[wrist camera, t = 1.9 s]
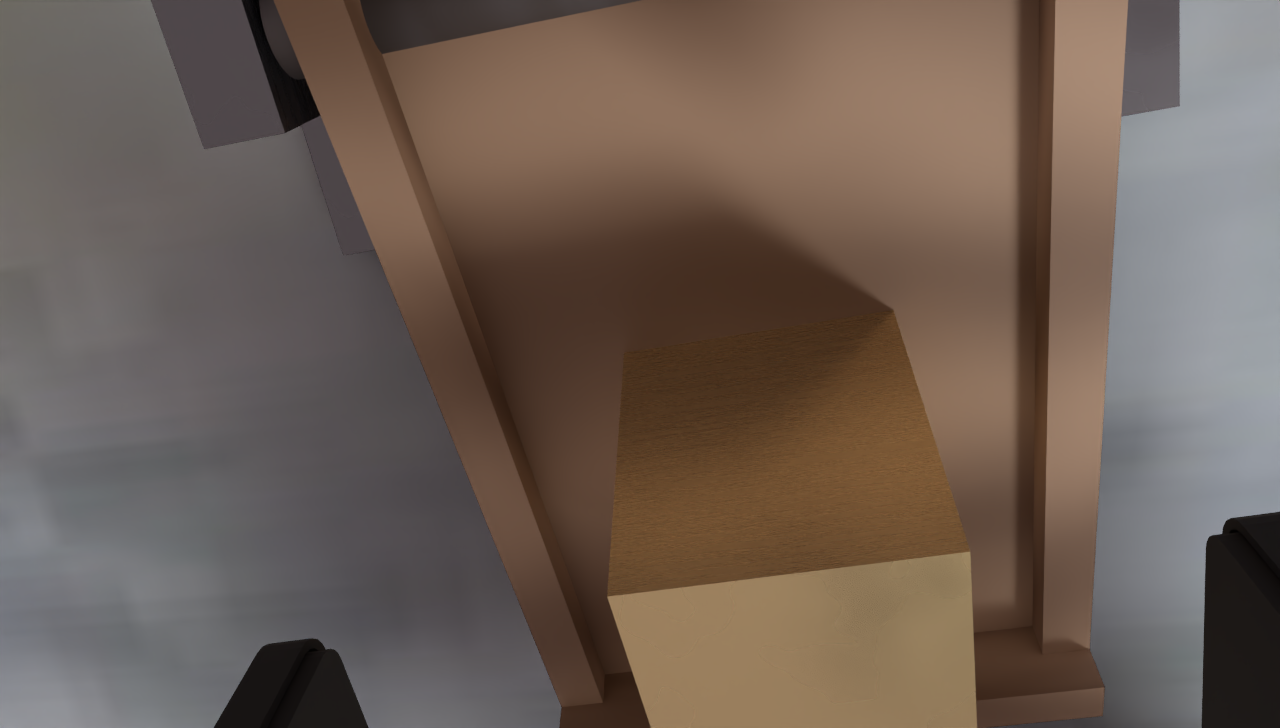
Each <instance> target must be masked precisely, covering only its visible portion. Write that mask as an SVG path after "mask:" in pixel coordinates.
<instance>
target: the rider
mask: <svg viewBox="0 0 1280 728" xmlns="http://www.w3.org/2000/svg"><path fill="white" fill-rule="evenodd" d="M607 598H608V601H609V604H610V607H611V610H612V613H613V616H614V619H615V622H616V625H617V628H618V631H619V634H620V637H621V640H622V643H623V646H624V649H625V652H626V655H627V658H628V661H629V664H630V667H631V670H632V673H633V676H634V678H635V681H636V684H637V687H638V690H639V693H640V696H641V699H642V702H643V705H644V708H645V711H646V714H647V717H648V720H649V723H650V726H651V728H977V712H976V686H975V660H974V634H973V608H972V582H971V556H970V549H969V546H968V543H967V540H966V536H965V533H964V530H963V527H962V524H961V521H960V518H959V514H958V511H957V508H956V505H955V502H954V499H953V496H952V492H951V489H950V486H949V483H948V480H947V477H946V474H945V470H944V467H943V464H942V461H941V458H940V455H939V452H938V448H937V445H936V442H935V439H934V436H933V433H932V430H931V426H930V423H929V420H928V417H927V414H926V411H925V408H924V404H923V401H922V398H921V395H920V392H919V389H918V386H917V382H916V379H915V376H914V373H913V370H912V367H911V364H910V360H909V357H908V354H907V351H906V348H905V345H904V342H903V338H902V335H901V332H900V329H899V326H898V323H897V320H896V316H895V313H894V310H891V311H885V312H879V313H872V314H866V315H860V316H853V317H847V318H841V319H834V320H828V321H822V322H815V323H809V324H803V325H796V326H790V327H784V328H778V329H771V330H765V331H759V332H752V333H746V334H740V335H733V336H727V337H721V338H714V339H708V340H702V341H695V342H689V343H683V344H676V345H670V346H664V347H657V348H651V349H645V350H638V351H632V352H626V353H624V360H623V374H622V389H621V403H620V418H619V433H618V447H617V462H616V476H615V491H614V505H613V520H612V534H611V549H610V563H609V578H608V593H607Z"/></svg>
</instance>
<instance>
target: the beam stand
mask: <svg viewBox="0 0 1280 728" xmlns="http://www.w3.org/2000/svg"><path fill="white" fill-rule="evenodd" d="M151 2H152V4H153V7H154V10H155V13H156V16H157V18H158V21H159V24H160V27H161V30H162V32H163V35H164V38H165V41H166V44H167V46H168V49H169V52H170V55H171V58H172V60H173V63H174V66H175V69H176V71H177V74H178V77H179V80H180V83H181V85H182V88H183V91H184V94H185V97H186V99H187V102H188V105H189V108H190V111H191V113H192V116H193V119H194V122H195V124H196V127H197V130H198V133H199V136H200V138H201V141H202V144H203V147H204V149H207V148H212V147H217V146H222V145H227V144H232V143H237V142H242V141H247V140H252V139H258V138H263V137H268V136H273V135H278V134H283V133H286V132H288V131H290V130H292V129H294V128H296V127H298V126H300V125H302V128H303V131H304V134H305V138H306V141H307V144H308V147H309V150H310V153H311V156H312V159H313V163H314V166H315V169H316V172H317V175H318V178H319V181H320V184H321V188H322V191H323V194H324V197H325V200H326V203H327V206H328V209H329V213H330V216H331V219H332V222H333V225H334V228H335V231H336V234H337V238H338V241H339V244H340V247H341V250H342V253H343V255H349V254H354V253H360V252H366V251H371V250H375V248H374V246H373V243H372V241H371V238H370V236H369V233H368V231H367V228H366V226H365V223H364V221H363V219H362V216H361V214H360V211H359V209H358V206H357V204H356V201H355V199H354V196H353V194H352V192H351V189H350V187H349V184H348V182H347V179H346V177H345V174H344V172H343V169H342V167H341V165H340V162H339V160H338V157H337V155H336V152H335V150H334V147H333V145H332V142H331V140H330V138H329V135H328V133H327V130H326V128H325V125H324V123H323V120H322V118H321V116H320V113H319V111H318V108H317V106H316V103H315V101H314V98H313V96H312V93H311V91H310V89H309V86H308V84H307V81H306V79H301V80H297V79H294V78H292V77H291V76H289V75H288V74H287V73H286V72H285V71H284V70H283V68H282V67H281V66H280V64H279V63H278V61H277V59H276V58H275V56H274V54H273V52H272V50H271V47H270V45H269V43H268V40H267V37H266V34H265V31H264V27H263V24H262V19H261V13H260V5H259V0H151ZM1177 106H1180V96H1179V0H1128V11H1127V28H1126V45H1125V62H1124V78H1123V95H1122V112H1121V116H1127V115H1132V114H1138V113H1143V112H1149V111H1155V110H1160V109H1166V108H1171V107H1177Z"/></svg>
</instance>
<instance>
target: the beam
mask: <svg viewBox="0 0 1280 728" xmlns="http://www.w3.org/2000/svg"><path fill="white" fill-rule="evenodd" d="M259 5H260V13H261V19H262V24H263V27H264V31H265V34H266V37H267V40H268V43H269V45H270V47H271V50H272V52H273V54H274V56H275V58H276V59H277V61H278V63H279V64H280V66H281V67H282V68H283V70H284V71H285V72H286V73H287V74H288V75H289V76H291V77H292V78H294V79H297V80H301V79H306V81H307V84H308V86H309V89H310V91H311V93H312V96H313V98H314V101H315V103H316V106H317V108H318V111H319V113H320V116H321V118H322V120H323V123H324V125H325V128H326V130H327V133H328V135H329V138H330V140H331V142H332V145H333V147H334V150H335V152H336V155H337V157H338V160H339V162H340V165H341V167H342V169H343V172H344V174H345V177H346V179H347V182H348V184H349V187H350V189H351V192H352V194H353V196H354V199H355V201H356V204H357V206H358V209H359V211H360V214H361V216H362V219H363V221H364V223H365V226H366V228H367V231H368V233H369V236H370V238H371V241H372V243H373V246H374V248H375V250H376V253H377V255H378V258H379V260H380V263H381V265H382V268H383V270H384V273H385V275H386V277H387V280H388V282H389V285H390V287H391V290H392V292H393V295H394V297H395V300H396V302H397V304H398V307H399V309H400V312H401V314H402V317H403V319H404V322H405V324H406V326H407V329H408V331H409V334H410V336H411V339H412V341H413V344H414V346H415V349H416V351H417V353H418V356H419V358H420V361H421V363H422V366H423V368H424V371H425V373H426V376H427V378H428V380H429V383H430V385H431V388H432V390H433V393H434V395H435V398H436V400H437V403H438V405H439V407H440V410H441V412H442V415H443V417H444V420H445V422H446V425H447V427H448V430H449V432H450V434H451V437H452V439H453V442H454V444H455V447H456V449H457V452H458V454H459V457H460V459H461V461H462V464H463V466H464V469H465V471H466V474H467V476H468V479H469V481H470V483H471V486H472V488H473V491H474V493H475V496H476V498H477V501H478V503H479V506H480V508H481V510H482V513H483V515H484V518H485V520H486V523H487V525H488V528H489V530H490V533H491V535H492V537H493V540H494V542H495V545H496V547H497V550H498V552H499V555H500V557H501V560H502V562H503V564H504V567H505V569H506V572H507V574H508V577H509V579H510V582H511V584H512V587H513V589H514V591H515V594H516V596H517V599H518V601H519V604H520V606H521V609H522V611H523V614H524V616H525V618H526V621H527V623H528V626H529V628H530V631H531V633H532V636H533V638H534V641H535V643H536V645H537V648H538V650H539V653H540V655H541V658H542V660H543V663H544V665H545V667H546V670H547V672H548V675H549V677H550V680H551V682H552V685H553V687H554V690H555V692H556V694H557V697H558V699H559V702H560V704H561V707H562V709H561V719H560V728H651V726H650V723H649V720H648V717H647V714H646V711H645V708H644V705H643V702H642V699H641V696H640V693H639V690H638V687H637V684H636V681H635V678H634V676H633V673H632V670H631V667H630V664H629V661H628V658H627V655H626V652H625V649H624V646H623V643H622V640H621V637H620V634H619V631H618V628H617V625H616V622H615V619H614V616H613V613H612V610H611V607H610V604H609V601H608V598H607V593H608V578H609V563H610V549H611V534H612V520H613V505H614V491H615V476H616V462H617V447H618V433H619V418H620V403H621V389H622V374H623V360H624V353H626V352H632V351H638V350H645V349H651V348H657V347H664V346H670V345H676V344H683V343H689V342H695V341H702V340H708V339H714V338H721V337H727V336H733V335H740V334H746V333H752V332H759V331H765V330H771V329H778V328H784V327H790V326H796V325H803V324H809V323H815V322H822V321H828V320H834V319H841V318H847V317H853V316H860V315H866V314H872V313H879V312H885V311H891V310H894V313H895V316H896V320H897V323H898V326H899V329H900V332H901V335H902V338H903V342H904V345H905V348H906V351H907V354H908V357H909V360H910V364H911V367H912V370H913V373H914V376H915V379H916V382H917V386H918V389H919V392H920V395H921V398H922V401H923V404H924V408H925V411H926V414H927V417H928V420H929V423H930V426H931V430H932V433H933V436H934V439H935V442H936V445H937V448H938V452H939V455H940V458H941V461H942V464H943V467H944V470H945V474H946V477H947V480H948V483H949V486H950V489H951V492H952V496H953V499H954V502H955V505H956V508H957V511H958V514H959V518H960V521H961V524H962V527H963V530H964V533H965V536H966V540H967V543H968V546H969V549H970V556H971V582H972V608H973V634H974V660H975V686H976V712H977V728H988V727H998V726H1008V725H1018V724H1028V723H1038V722H1048V721H1058V720H1068V719H1078V718H1088V717H1098V716H1103V705H1104V692H1105V687H1104V684H1103V682H1102V679H1101V677H1100V674H1099V672H1098V669H1097V667H1096V664H1095V662H1094V659H1093V657H1092V654H1091V652H1090V632H1091V616H1092V599H1093V582H1094V565H1095V549H1096V532H1097V515H1098V498H1099V481H1100V465H1101V448H1102V431H1103V414H1104V397H1105V381H1106V364H1107V347H1108V330H1109V313H1110V297H1111V280H1112V263H1113V246H1114V230H1115V213H1116V196H1117V179H1118V162H1119V146H1120V129H1121V112H1122V95H1123V78H1124V62H1125V45H1126V28H1127V11H1128V0H259Z"/></svg>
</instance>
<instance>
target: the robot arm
mask: <svg viewBox="0 0 1280 728" xmlns="http://www.w3.org/2000/svg"><path fill="white" fill-rule="evenodd" d="M214 728H368V725H367V723H366V720H365V718H364V715H363V713H362V710H361V708H360V705H359V703H358V700H357V698H356V695H355V693H354V690H353V688H352V685H351V683H350V680H349V678H348V675H347V673H346V670H345V668H344V665H343V663H342V660H341V658H340V656H339V654H338V653H337V652H336V651H335V650H332V649H327V650H326V649H325V648H324V646H323V644H322V643H321V642H320V641H319V640H318V639H313V638H311V639H303V640H295V641H288V642H280V643H272V644H267V645H265V646H263V647H262V648H261V649H260V650H259V652H258V653H257V655H256V656H255V658H254V660H253V661H252V663H251V665H250V667H249V668H248V670H247V672H246V673H245V675H244V677H243V679H242V680H241V682H240V684H239V685H238V687H237V689H236V691H235V692H234V694H233V696H232V697H231V699H230V701H229V703H228V704H227V706H226V708H225V709H224V711H223V713H222V714H221V716H220V718H219V720H218V721H217V723H216V725H215V726H214ZM1202 728H1280V512H1275V513H1268V514H1260V515H1252V516H1245V517H1237V518H1230V519H1229V520H1227V521H1226V522H1225V525H1224V527H1223V533H1222V534H1220V535H1212V536H1210V537H1209V538H1208V541H1207V545H1206V570H1205V613H1204V656H1203V698H1202Z"/></svg>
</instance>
